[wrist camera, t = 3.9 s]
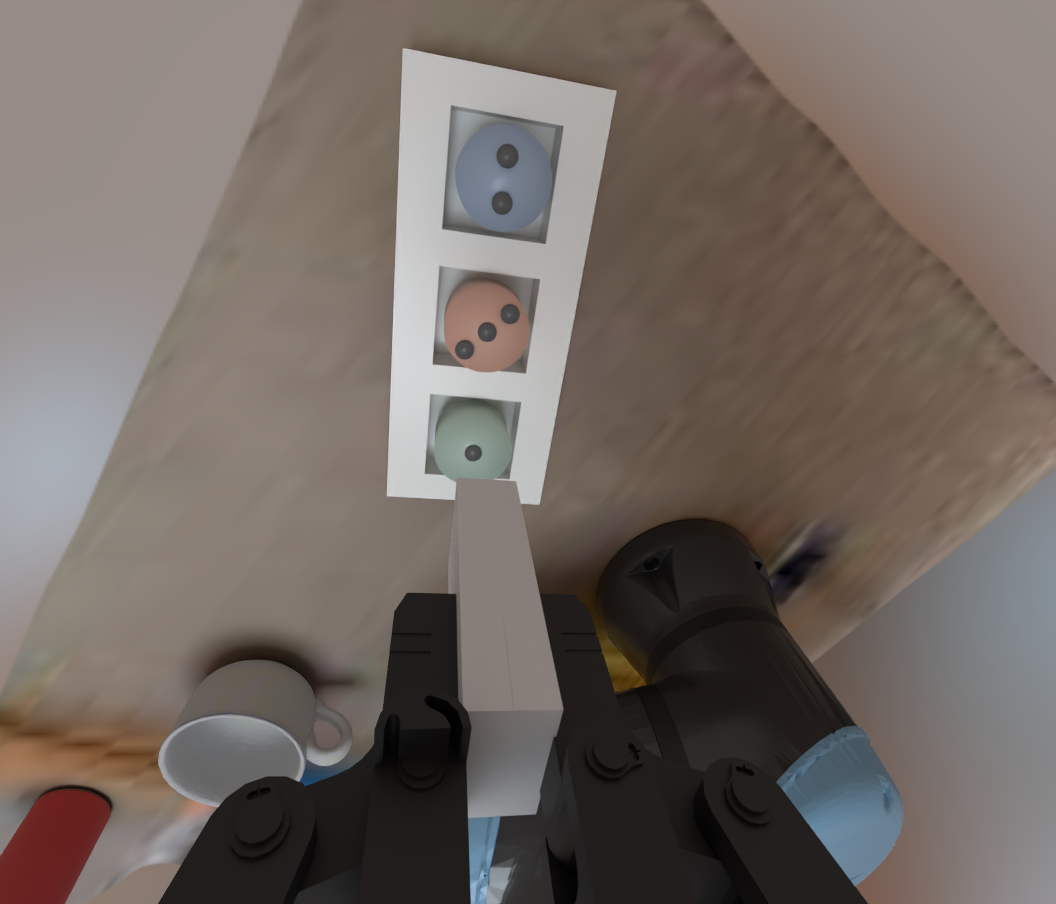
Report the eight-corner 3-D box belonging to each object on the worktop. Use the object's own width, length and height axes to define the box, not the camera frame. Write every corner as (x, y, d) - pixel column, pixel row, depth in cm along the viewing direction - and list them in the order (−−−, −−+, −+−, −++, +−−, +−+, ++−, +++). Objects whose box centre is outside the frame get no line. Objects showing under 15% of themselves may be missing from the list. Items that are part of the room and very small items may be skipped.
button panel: (602, 96, 31) (616, 90, 29) (533, 483, 43) (539, 504, 40) (407, 58, 29) (402, 48, 27) (390, 474, 41) (386, 496, 38)
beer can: (119, 822, 56) (42, 975, 45) (45, 825, 55) (-50, 982, 44) (107, 783, 53) (23, 937, 42) (29, 785, 52) (-78, 944, 41)
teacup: (193, 714, 50) (151, 804, 43) (204, 630, 46) (159, 715, 39) (347, 731, 54) (332, 816, 47) (371, 654, 49) (358, 735, 42)
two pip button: (550, 135, 30) (560, 133, 27) (536, 231, 32) (544, 238, 30) (459, 119, 29) (460, 115, 26) (451, 219, 31) (451, 225, 29)
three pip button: (528, 283, 34) (535, 294, 31) (517, 360, 36) (523, 377, 33) (447, 272, 33) (447, 283, 30) (441, 352, 35) (440, 369, 32)
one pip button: (511, 402, 37) (516, 422, 34) (502, 465, 40) (506, 489, 37) (437, 395, 36) (436, 415, 34) (432, 461, 39) (431, 484, 36)
